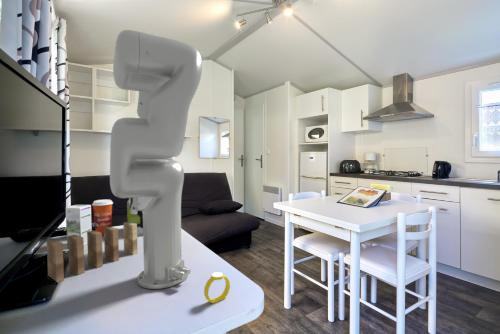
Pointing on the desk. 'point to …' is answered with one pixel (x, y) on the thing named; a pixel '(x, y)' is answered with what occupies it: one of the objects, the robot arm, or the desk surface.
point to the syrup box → (78, 221)
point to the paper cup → (102, 214)
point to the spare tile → (130, 238)
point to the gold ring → (213, 277)
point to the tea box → (134, 220)
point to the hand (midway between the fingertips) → (145, 227)
